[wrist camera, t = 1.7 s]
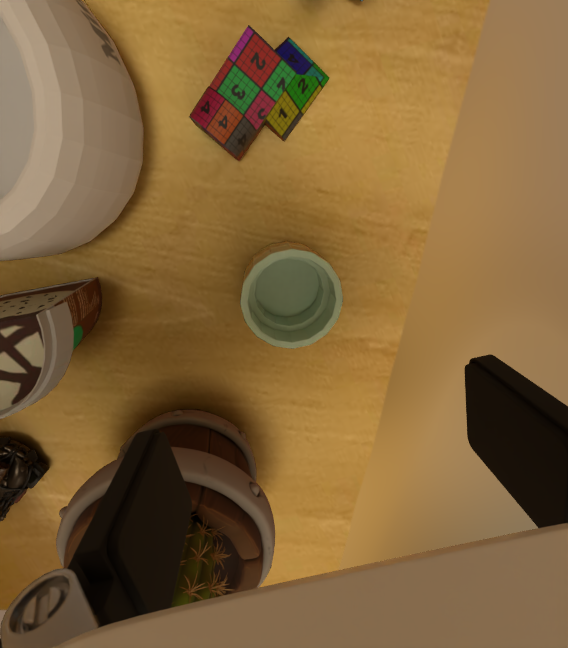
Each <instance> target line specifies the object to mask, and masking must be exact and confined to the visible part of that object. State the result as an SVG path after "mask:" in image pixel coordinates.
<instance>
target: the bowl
mask: <svg viewBox="0 0 568 648" xmlns="http://www.w3.org/2000/svg"><path fill="white" fill-rule="evenodd" d="M342 302H343V295H342V289H341V283H340V279H339V278H338V276H337V275H336V273H335V272H334V270H333V268H332V267H331V265H330V264H329V263H328V262H327V261H326V260H325V259H324V258H322V257H321V256H320V255H319V254H318V253H317V252H315V251H314V250H312V249H311V248H309V247H307V246H306V245H304V244H300V243H295V242H289V241H284V242H280V243H275V244H271V245H268V246H267V247H265V248H264V249H262V250H261V251H260V252H258V253H257V254H255V255H254V256H253V258H252V259H251V261H250V263H249V264H248V266H247V268H246V269H245V271H244V278H243V284H242V292H241V299H240V305H241V308H242V312H243V316H244V320H245V322H246V324H247V325H248V326H249V327H250V329H251V330H252V331H253V332H254V334H255V335H256V336H257V337H258V338H260V339H262V340H264V341H265V342H267V343H269V344H271V345H272V346H277V347H284V348H291V349H292V348H298V347H302V346H307V345H311V344H313V343H314V342H316V341H317V340H319V339H320V338H322V337H323V336H325V335H326V334H327V333H328V332H329V331H330V329H331V328H332V327H333V325H334V324H335V322H336V321H337V320H338V318H339V314H340V310H341V306H342Z"/></svg>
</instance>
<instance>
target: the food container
mask: <svg viewBox="0 0 568 648" xmlns="http://www.w3.org/2000/svg"><path fill="white" fill-rule="evenodd" d="M101 306H102V293H101V286H100V283H99V279H98V277H96V278H91V279H85V280H80V281H75V282H70V283H64V284H59V285H54V286H48V287H43V288H38V289H32V290H27V291H22V292H16V293H11V294H6V295H1V296H0V419H2V418H5V417H7V416H10V415H12V414H14V413H16V412H18V411H20V410H22V409H24V408H26V407H28V406H30V405H32V404H34V403H35V402H37V401H38V400H40V399H41V398H43V397H44V396H46V395H47V394H48V393H49V392H50V391H51V390H52V389H53V388H54V387H55V386H56V385H57V384H58V383H59V381H60V380H61V378H62V377H63V376H64V374H65V372H66V370H67V367H68V365H69V363H70V360H71V355H72V351H73V350H74V349H75V348H76V346H77V345H78V344H79V343H80V342H81V341H82V340H83V339H84V337H85V336H86V335H87V334H88V333H89V332H90V331H91V330H92V328H93V327H94V325H95V324H96V322H97V320H98V317H99V315H100V311H101Z"/></svg>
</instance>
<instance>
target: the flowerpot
mask: <svg viewBox="0 0 568 648" xmlns="http://www.w3.org/2000/svg"><path fill="white" fill-rule="evenodd" d="M152 429H158V431H159V432H164V433H165V434H166V436H167V439H168V441H169V444H170V446H171V449H172V451H173V454H174V456H175V459H176V461H177V464H178V466H179V469H180V471H181V474H182V476H183V479H184V482H185V484H186V487H187V489H188V492H189V494H190V497H191V501H192V512H191V516H190V521H189V526H188V530H187V535H186V540H185V544H184V549H183V554H182V558H181V563H180V568H179V572H178V577H177V582H176V586H175V591H174V596H173V600H172V605H171V608H173V607H177V606H181V605H185V604H190V603H194V602H198V601H202V600H206V599H211V598H215V597H220V596H224V595H229V594H233V593H238V592H242V591H247V590H251V589H256V588H258V587H259V586H260V585H261V584H262V583H263V581H264V580H265V578H266V576H267V575H268V572H269V570H270V568H271V566H272V565H271V564H272V559H273V554H274V546H275V525H274V519H273V514H272V511H271V507H270V504H269V502H268V499H267V497H266V495H265V493H264V492H263V490H262V489H261V488H260V486H259V485H258V484H257V483H256V464H255V460H254V456H253V453H252V450H251V448H250V445H249V443H248V441H247V439H246V434H245V433H244V432H241V431H240V430H239V429H238V428H237V427H236V426H235V425H233V424H232V423H230V422H229V421H227V420H225V419H223V418H221V417H219V416H217V415H214V414H211V413H208V412H206V411H201V410H195V409H184V410H176V411H171V412H168V413H165V414H162V415H160V416H158V417H156V418H154V419H152V420H150V421H149V422H147V423H146V424H144V425H143V426H142V427H141V428H140V429H138V430H137V431H136V432H135V433H134V434H133V435H132V436H131V437H130V438H129V439H128V440H127V441H126V443H125V444H124V445H123V446H122V447H121V448H120V453H119V456H118V458H117V460H115V461H113V462H111V463H109V464H108V465H106V466H104V467H103V468H101V469H100V470H99V471H97V472H96V473H95V474H94V475H93V476H91V477H90V478H89V479H88V480H87V481H86V482H85V483H84V484H83V485H82V486H81V488H80V489H79V490H78V491H77V492H76V494H75V495H74V496H73V498H72V499H71V501H70V502H69V504H68V506H66V507H64V508H62V509H61V510H60V513H59V515H60V517H61V518H62V519H61V523H60V527H59V530H58V534H57V540H56V546H57V552H58V555H59V559H60V562H61V565H62V566H64V568H66V569H67V568H68V566H69V564H70V562H71V560H72V558H73V555H74V553H75V551H76V549H77V547H78V545H79V543H80V541H81V539H82V537H83V535H84V533H85V532H86V530H87V528H88V526H89V524H90V522H91V520H92V518H93V516H94V514H95V512H96V510H97V508H98V506H99V504H100V502H101V501H102V499H103V497H104V495H105V493H106V491H107V489H108V487H109V485H110V483H111V481H112V479H113V477H114V475H115V473H116V471H117V469H118V468H119V466H120V464H121V462H122V460H123V458H124V456H125V454H126V452H127V450H128V448H129V446H130V444H131V442H132V440H133V438H134V437H135V435H136V434H137V433H138V432H143V431H147V430H152Z"/></svg>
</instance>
